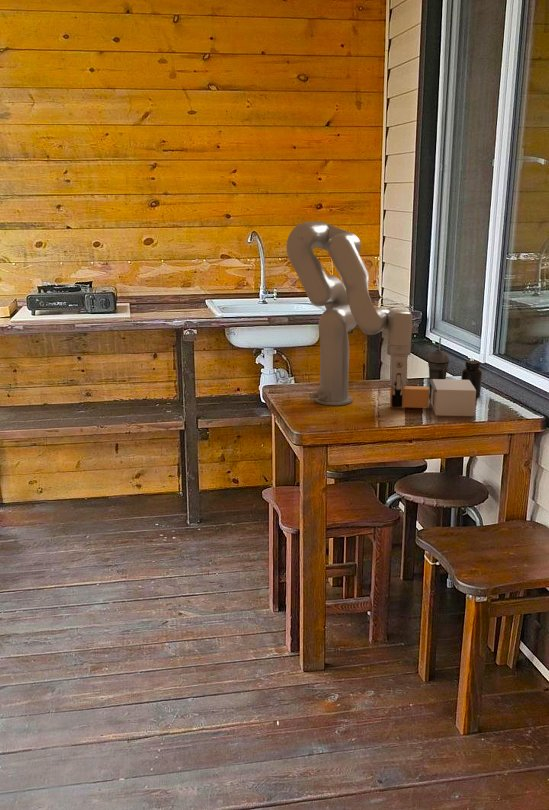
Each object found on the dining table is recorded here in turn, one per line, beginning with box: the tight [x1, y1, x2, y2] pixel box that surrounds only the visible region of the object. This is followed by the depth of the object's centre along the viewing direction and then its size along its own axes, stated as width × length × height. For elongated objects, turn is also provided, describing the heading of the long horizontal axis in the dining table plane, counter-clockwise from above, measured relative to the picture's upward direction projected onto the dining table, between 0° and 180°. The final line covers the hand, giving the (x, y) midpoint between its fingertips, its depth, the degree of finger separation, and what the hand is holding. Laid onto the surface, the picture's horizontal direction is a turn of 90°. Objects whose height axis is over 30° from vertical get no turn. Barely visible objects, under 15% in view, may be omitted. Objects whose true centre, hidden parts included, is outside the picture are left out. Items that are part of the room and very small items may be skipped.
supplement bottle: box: [460, 360, 483, 399], centre depth 257 cm, size 7×7×12 cm
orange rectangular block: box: [389, 385, 430, 409], centre depth 242 cm, size 4×12×6 cm, turn 84°
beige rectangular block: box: [430, 378, 477, 417], centre depth 241 cm, size 14×13×8 cm
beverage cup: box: [427, 337, 450, 395], centre depth 259 cm, size 7×7×20 cm
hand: (396, 404), depth 244 cm, fingers closed on orange rectangular block, 4 cm apart
